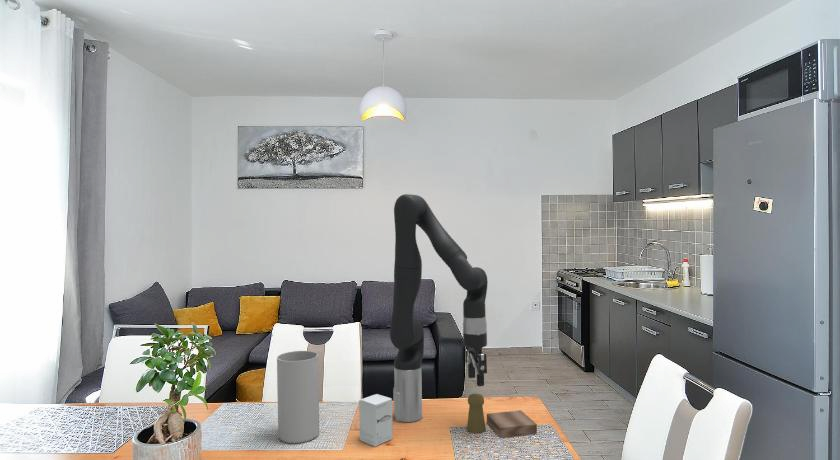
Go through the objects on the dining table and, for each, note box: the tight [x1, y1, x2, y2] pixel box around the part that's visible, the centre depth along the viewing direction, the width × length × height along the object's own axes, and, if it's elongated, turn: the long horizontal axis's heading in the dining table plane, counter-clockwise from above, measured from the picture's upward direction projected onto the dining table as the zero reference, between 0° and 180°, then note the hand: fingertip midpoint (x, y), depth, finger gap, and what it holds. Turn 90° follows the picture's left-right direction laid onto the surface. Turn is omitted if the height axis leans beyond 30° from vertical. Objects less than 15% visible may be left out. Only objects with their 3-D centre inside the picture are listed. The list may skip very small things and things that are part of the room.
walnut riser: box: [486, 410, 538, 439], centre depth 163 cm, size 12×12×3 cm
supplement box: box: [358, 393, 393, 448], centre depth 155 cm, size 7×7×13 cm
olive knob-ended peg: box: [466, 393, 487, 434], centre depth 162 cm, size 6×6×11 cm
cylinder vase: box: [276, 350, 320, 444], centre depth 159 cm, size 12×12×25 cm
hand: (476, 381), depth 162 cm, fingers open, 8 cm apart
